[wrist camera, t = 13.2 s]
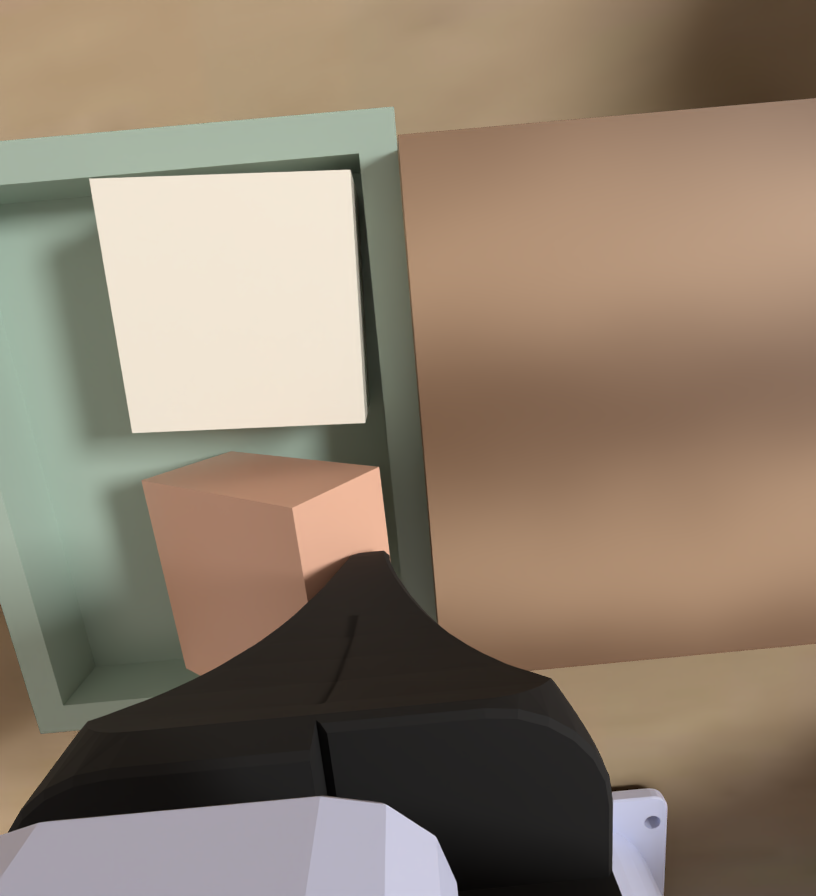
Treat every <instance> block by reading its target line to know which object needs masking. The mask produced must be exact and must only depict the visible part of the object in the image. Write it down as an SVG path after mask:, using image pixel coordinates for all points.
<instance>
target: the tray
mask: <svg viewBox="0 0 816 896" xmlns="http://www.w3.org/2000/svg"><path fill="white" fill-rule="evenodd" d="M325 170H351V173H352V177H353V180H354V184H355V187H356V190H357V194H358V202H359V219H360V237H361V255H362V272H363V290H364V308H365V325H366V343H367V361H368V378H369V396H370V405H369V410H368V414H367V418H366V422H365V423H354V424H331V425H308V426H285V427H262V428H239V429H216V430H193V431H170V432H147V433H132V429H131V423H130V417H129V411H128V405H127V399H126V393H125V387H124V381H123V375H122V370H121V364H120V358H119V352H118V346H117V340H116V334H115V328H114V322H113V317H112V311H111V305H110V299H109V293H108V287H107V281H106V275H105V269H104V263H103V258H102V252H101V246H100V240H99V234H98V228H97V222H96V216H95V210H94V204H93V199H92V193H91V187H90V181H89V179H96V178H125V177H153V176H182V175H210V174H239V173H268V172H296V171H325ZM230 451H234V452H244V453H253V454H263V455H272V456H282V457H291V458H300V459H310V460H319V461H329V462H338V463H348V464H357V465H367V466H376V467H379V470H380V478H381V487H382V495H383V503H384V511H385V520H386V528H387V536H388V544H389V553H390V561H391V564H392V567H393V569H394V571H395V572H396V574H397V576H398V578H399V579H400V581H401V582H402V584H403V585H404V586H405V588H406V589H407V591H408V592H409V593H410V595H411V596H412V597H413V598H414V600H415V601H416V602H417V603H418V604H419V605H420V607H421V608H422V609H423V610H424V611H425V612H426V613H427V614H428V615H429V616H430V617H431V618H432V619H433V620H434V621H435V622H436V623H437V619H436V607H435V595H434V583H433V571H432V559H431V547H430V535H429V523H428V511H427V499H426V487H425V475H424V463H423V451H422V439H421V427H420V415H419V403H418V391H417V379H416V367H415V355H414V343H413V331H412V319H411V307H410V295H409V283H408V271H407V259H406V247H405V235H404V223H403V211H402V199H401V187H400V175H399V162H398V150H397V138H396V126H395V114H394V107H384V108H373V109H362V110H350V111H339V112H327V113H316V114H305V115H293V116H282V117H270V118H259V119H248V120H236V121H225V122H213V123H202V124H191V125H179V126H168V127H156V128H145V129H134V130H122V131H111V132H99V133H88V134H77V135H65V136H54V137H42V138H31V139H19V140H8V141H0V603H1V607H2V610H3V613H4V616H5V620H6V623H7V626H8V629H9V633H10V636H11V639H12V642H13V646H14V649H15V652H16V655H17V659H18V662H19V665H20V668H21V672H22V675H23V678H24V681H25V685H26V688H27V691H28V694H29V698H30V701H31V704H32V707H33V711H34V714H35V717H36V720H37V724H38V727H39V730H40V733H41V734H45V733H55V732H66V731H76V730H81V729H82V728H83V726H84V725H85V724H86V723H87V721H90V720H93V719H96V718H99V717H102V716H105V715H107V714H110V713H113V712H115V711H118V710H121V709H123V708H126V707H129V706H132V705H134V704H137V703H140V702H142V701H145V700H148V699H150V698H153V697H155V696H158V695H160V694H162V693H165V692H167V691H169V690H171V689H174V688H176V687H178V686H180V685H182V684H185V683H187V682H189V681H191V680H193V679H195V678H197V677H199V676H200V675H198V674H196V673H194V672H192V671H190V670H188V669H187V668H186V666H185V662H184V658H183V654H182V650H181V645H180V641H179V637H178V633H177V628H176V624H175V620H174V616H173V612H172V607H171V603H170V599H169V595H168V591H167V586H166V582H165V578H164V574H163V570H162V565H161V561H160V557H159V553H158V549H157V544H156V540H155V536H154V532H153V528H152V523H151V519H150V515H149V511H148V507H147V502H146V498H145V494H144V490H143V485H142V481H141V480H144V479H147V478H150V477H153V476H156V475H159V474H162V473H165V472H168V471H172V470H175V469H178V468H181V467H184V466H187V465H190V464H193V463H196V462H199V461H202V460H206V459H209V458H212V457H215V456H218V455H221V454H224V453H227V452H230Z"/></svg>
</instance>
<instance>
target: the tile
mask: <svg viewBox="0 0 816 896" xmlns="http://www.w3.org/2000/svg"><path fill="white" fill-rule="evenodd" d="M89 181H90V187H91V193H92V199H93V204H94V210H95V216H96V222H97V228H98V234H99V240H100V246H101V252H102V258H103V263H104V269H105V275H106V281H107V287H108V293H109V299H110V305H111V311H112V317H113V322H114V328H115V334H116V340H117V346H118V352H119V358H120V364H121V370H122V375H123V381H124V387H125V393H126V399H127V405H128V411H129V417H130V423H131V429H132V433H147V432H170V431H193V430H216V429H239V428H262V427H285V426H308V425H331V424H354V423H365V422H366V418H367V414H368V410H369V405H370V396H369V378H368V361H367V343H366V325H365V308H364V290H363V272H362V255H361V237H360V219H359V202H358V194H357V190H356V187H355V184H354V180H353V177H352V173H351V170H325V171H296V172H268V173H239V174H210V175H182V176H153V177H125V178H96V179H89Z"/></svg>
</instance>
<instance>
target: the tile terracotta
mask: <svg viewBox="0 0 816 896" xmlns="http://www.w3.org/2000/svg"><path fill="white" fill-rule="evenodd" d="M141 481H142V485H143V490H144V494H145V498H146V502H147V507H148V511H149V515H150V519H151V523H152V528H153V532H154V536H155V540H156V544H157V549H158V553H159V557H160V561H161V565H162V570H163V574H164V578H165V582H166V586H167V591H168V595H169V599H170V603H171V607H172V612H173V616H174V620H175V624H176V628H177V633H178V637H179V641H180V645H181V650H182V654H183V658H184V662H185V666H186V668H187V669H188V670H190V671H192V672H194V673H196V674H198V675H200V676H201V675H203V674H205V673H207V672H209V671H211V670H213V669H215V668H217V667H218V666H220V665H222V664H223V663H225V662H227V661H228V660H230V659H232V658H233V657H235V656H237V655H238V654H240V653H242V652H243V651H245V650H247V649H248V648H250V647H252V646H253V645H255V644H256V643H258V642H259V641H261V640H262V639H264V638H265V637H266V636H268V635H269V634H271V633H272V632H273V631H275V630H276V629H277V628H279V627H280V626H281V625H283V624H284V623H285V622H286V621H288V620H289V619H290V618H291V617H292V616H294V615H295V614H296V613H297V612H298V611H299V610H300V609H301V608H302V607H303V606H304V605H305V604H306V603H308V602H309V601H310V600H311V599H312V598H313V597H314V596H315V595H316V594H317V593H318V592H319V591H320V590H321V589H322V588H323V587H324V586H325V585H326V584H327V583H328V582H329V580H330V579H331V578H332V577H333V576H334V575H335V574H336V573H337V571H338V570H339V569H340V568H341V567H342V566H343V565H344V563H345V562H346V561H347V560H348V559H349V558H350V557H351V556H352V555H354V554H358V553H362V552H373V551H385V552H386V553H387V554H389V555H390V553H389V544H388V536H387V528H386V520H385V511H384V503H383V495H382V487H381V478H380V470H379V467H376V466H367V465H357V464H348V463H338V462H329V461H319V460H310V459H300V458H291V457H282V456H272V455H263V454H253V453H244V452H234V451H230V452H227V453H224V454H221V455H218V456H215V457H212V458H209V459H206V460H202V461H199V462H196V463H193V464H190V465H187V466H184V467H181V468H178V469H175V470H172V471H168V472H165V473H162V474H159V475H156V476H153V477H150V478H147V479H144V480H141ZM390 562H391V561H390Z"/></svg>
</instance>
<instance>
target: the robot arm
mask: <svg viewBox="0 0 816 896" xmlns="http://www.w3.org/2000/svg"><path fill="white" fill-rule="evenodd" d="M650 816H651V817H650ZM666 831H667V803H666V801H665V799H664V797H663V795H662V794H661V793H660V792H659V791H658V790H656V789H652V788H645V789H634V790H624V791H613V792H612V790H611V784H610V778H609V774H608V772H607V770H606V768H605V765H604V763H603V760H602V758H601V756H600V754H599V751H598V749H597V747H596V745H595V743H594V742H593V740H592V738H591V736H590V735H589V733H588V731H587V729H586V728H585V726H584V725H583V723H582V722H581V720H580V718H579V717H578V715H577V714H576V712H575V711H574V709H573V708H572V706H571V705H570V703H569V702H568V701H567V699H566V698H565V696H564V695H563V693H562V692H561V691H560V689H559V688H558V686H557V685H556V684H555V682H554V681H553V680H552V679H551V678H548V677H545V676H542V675H539V674H536V673H533V672H530V671H527V670H524V669H521V668H517V667H514V666H511V665H508V664H506V663H503V662H501V661H499V660H497V659H495V658H492V657H490V656H488V655H486V654H484V653H482V652H480V651H478V650H476V649H474V648H472V647H470V646H469V645H467V644H465V643H464V642H462V641H461V640H459V639H458V638H456V637H454V636H453V635H451V634H450V633H448V632H447V631H446V630H445V629H443V628H442V627H441V626H440V625H439V624H438V623H436V622H435V621H434V620H433V619H432V618H431V617H430V616H429V615H428V614H427V613H426V612H425V611H424V610H423V609H422V608H421V607H420V605H419V604H418V603H417V602H416V601H415V600H414V598H413V597H412V596H411V595H410V593H409V592H408V591H407V589H406V588H405V586H404V585H403V584H402V582H401V581H400V579H399V578H398V576H397V574H396V572H395V571H394V569H393V567H392V564H391V562H390V555H389V554H387V553H386V552H385V551H373V552H362V553H358V554H354V555H352V556H351V557H350V558H349V559H348V560H347V561H346V562H345V563H344V565H343V566H342V567H341V568H340V569H339V570H338V571H337V573H336V574H335V575H334V576H333V577H332V578H331V579H330V580H329V582H328V583H327V584H326V585H325V586H324V587H323V588H322V589H321V590H320V591H319V592H318V593H317V594H316V595H315V596H314V597H313V598H312V599H311V600H310V601H309V602H308V603H306V604H305V605H304V606H303V607H302V608H301V609H300V610H299V611H298V612H297V613H296V614H295V615H294V616H292V617H291V618H290V619H289V620H288V621H286V622H285V623H284V624H283V625H281V626H280V627H279V628H277V629H276V630H275V631H273V632H272V633H271V634H269V635H268V636H266V637H265V638H264V639H262V640H261V641H259V642H258V643H256V644H255V645H253V646H252V647H250V648H248V649H247V650H245V651H243V652H242V653H240V654H238V655H237V656H235V657H233V658H232V659H230V660H228V661H227V662H225V663H223V664H222V665H220V666H218V667H217V668H215V669H213V670H211V671H209V672H207V673H205V674H203V675H201V676H199V677H197V678H195V679H193V680H191V681H189V682H187V683H185V684H182V685H180V686H178V687H176V688H174V689H171V690H169V691H167V692H165V693H162V694H160V695H158V696H155V697H153V698H150V699H148V700H145V701H142V702H140V703H137V704H134V705H132V706H129V707H126V708H123V709H121V710H118V711H115V712H113V713H110V714H107V715H105V716H102V717H99V718H96V719H93V720H90V721H87V723H86V724H85V725H84V726H83V728H82V729H81V730H80V731H79V733H78V734H77V735H76V737H75V738H74V739H73V741H72V742H71V743H70V745H69V746H68V747H67V749H66V750H65V751H64V753H63V754H62V755H61V757H60V758H59V759H58V761H57V762H56V763H55V765H54V766H53V768H52V769H51V770H50V772H49V773H48V774H47V776H46V777H45V778H44V780H43V781H42V782H41V784H40V785H39V786H38V788H37V789H36V790H35V792H34V793H33V794H32V796H31V797H30V798H29V800H28V801H27V802H26V804H25V805H24V806H23V808H22V809H21V811H20V812H19V814H18V816H17V818H16V819H15V821H14V823H13V824H12V826H11V828H10V830H9V831H8V833H6V834H3V835H0V896H664V880H665V855H666Z"/></svg>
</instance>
